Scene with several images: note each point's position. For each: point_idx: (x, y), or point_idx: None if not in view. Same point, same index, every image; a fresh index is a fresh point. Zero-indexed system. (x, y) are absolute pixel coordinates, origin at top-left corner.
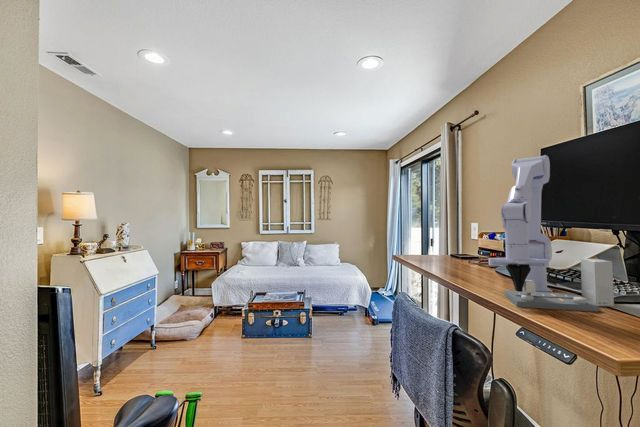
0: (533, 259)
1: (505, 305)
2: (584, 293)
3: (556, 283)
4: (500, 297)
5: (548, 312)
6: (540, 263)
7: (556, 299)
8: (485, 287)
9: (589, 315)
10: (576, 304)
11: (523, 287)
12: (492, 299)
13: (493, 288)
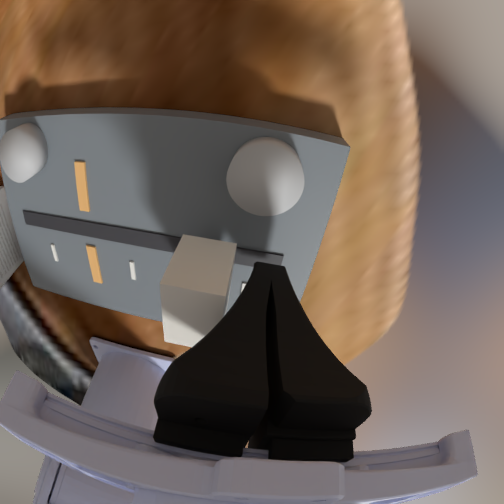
0: (97, 475)
1: (388, 169)
2: (6, 258)
3: (78, 386)
4: (323, 297)
5: (214, 40)
6: (57, 421)
7: (98, 196)
8: None
9: (56, 42)
10: (49, 115)
11: (227, 300)
12: (383, 269)
13: None
